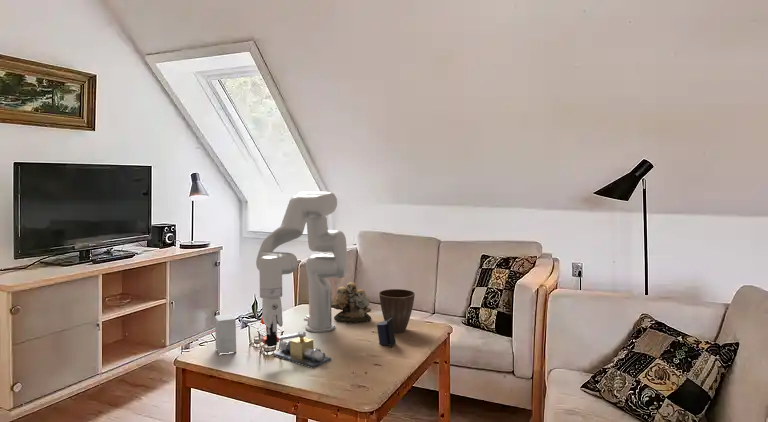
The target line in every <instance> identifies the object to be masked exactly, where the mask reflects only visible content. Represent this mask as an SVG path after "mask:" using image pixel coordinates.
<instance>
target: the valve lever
mask: <svg viewBox="0 0 768 422" xmlns="http://www.w3.org/2000/svg"><path fill="white" fill-rule="evenodd" d="M306 336H307V333H306V331H298V332H297V333H290V334H285V335H277V343H280V341H286V340H289V339H290V340H291V339H296V338H299V337H305V338H306ZM261 342H262V344H264V345H266V346H267V341H266V336H263V337H262V341H261Z"/></svg>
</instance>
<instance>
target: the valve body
mask: <svg viewBox="0 0 768 422" xmlns="http://www.w3.org/2000/svg"><path fill="white" fill-rule="evenodd" d="M279 349H280V350H279V351H276V352H273V356H274V355H276V356H278V357H277V358H279V357H281V358H280V359H282V358H284V359H283V360H286V359H287V361H289V360H290V361H289V362H292V361H294V362H293V363H295V362H297V363H296V364H298V363H300V364H299V365H301V364H303V365H302V366H305V365H306V366H305V367H308V366H309V367H308V368H311V367H312V369H314V367H315V368H317V367H319V366H322V365H324V364H327V363H329V362H332V357H331V356H330V357H329V356H326V353H325V352H323V351H322V350H321V349H320V348H314V339H313V338H307V337H306V336H305V337H296V338H292V339H290V340H282V341H281V343H280V344H279ZM276 356H275V357H276Z"/></svg>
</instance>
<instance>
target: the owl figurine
mask: <svg viewBox="0 0 768 422" xmlns="http://www.w3.org/2000/svg"><path fill="white" fill-rule="evenodd" d="M335 298H336V299H335V302H333V303H331V307H332V308H333V309H334V310H339V311H340V312H338V313H336V314H335V316H334V317H333V319H334V322H338V323H345V324H363V323H367V322H371V320H372V317H371V315H370V314H368V313H371V312H372V308H369V306H370V296H369V295H368V294H367V293H366V291H365V289H362V288H361V289H358V288H357V285H356V283H355V282H351V281H350V282H348V283H347V284H346V287H345V286H344V285H342V286H339V287H338V288H337V293H336V297H335Z"/></svg>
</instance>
